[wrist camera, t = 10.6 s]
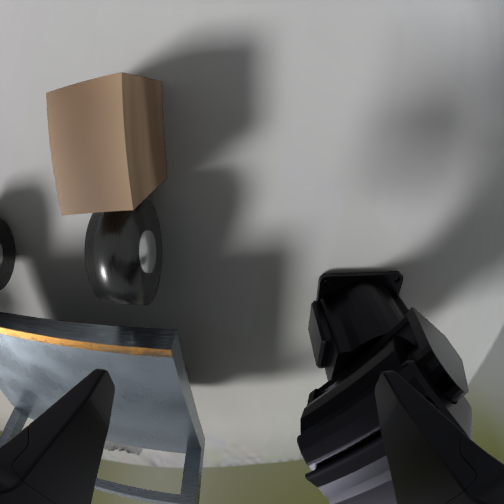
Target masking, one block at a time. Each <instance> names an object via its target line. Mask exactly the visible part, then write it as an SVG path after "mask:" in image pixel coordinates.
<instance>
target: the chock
mask: <svg viewBox="0 0 504 504" xmlns="http://www.w3.org/2000/svg"><path fill="white" fill-rule="evenodd" d="M46 98H47V117H48V129H49V139H50V148H51V156H52V164H53V170H54V177H55V183H56V189H57V194H58V199H59V204H60V209H61V214H62V215H71V214H83V213H96V212H111V211H127V210H134V209H135V208H136V207H137V206H138V205H139V204H140V203H141V202H142V201H143V200H144V199H145V198H146V197H147V196H148V195H150V194H151V193H152V192H153V191H154V190H155V189H156V188H157V187H158V186H159V185H160V184H161V183H162V182H164V181H165V180H166V179H167V167H166V154H165V140H164V123H163V101H162V82H161V81H157V80H153V79H149V78H145V77H141V76H136V75H132V74H127V73H122V72H121V73H116V74H112V75H107V76H103V77H99V78H95V79H91V80H87V81H83V82H80V83H76V84H73V85H70V86H66V87H63V88H60V89H57V90H54V91H51V92H48V93H46Z"/></svg>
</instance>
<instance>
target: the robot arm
mask: <svg viewBox="0 0 504 504" xmlns="http://www.w3.org/2000/svg"><path fill="white" fill-rule="evenodd" d="M396 277H398V278H397V279H396V280H394V279H395V278H396ZM325 280H329V281H328V282H327V283H324V281H325ZM402 281H403V276H402V274H401V273H400V272H398V271H389V272H362V273H328V274H323V275H321V276H320V278H319V282H318V290H317V298H316V301H314V302H313V303H312V304H311V312H310V319H309V327H308V330H309V334H310V339H311V343H312V348H313V352H314V357H315V361H316V366H318V367H319V368H325V370H326V375H327V379H328V382H327V383H326V384H324V385H323V386H322V387H320V388H319V389H315V390H314V391H312V392H311V393H310V394H309V399H308V404H307V407H305V408H304V411H303V414H302V417H301V435H299V436H298V437H297V443H298V446H299V449H300V452H301V455H302V456H303V458H304V460H305V462H306V464H307V465H308V466H309V468H310V469H311V470H312V471H311V472H309V473H306V475H305V477H306V479H307V480H308V481H310V482H311V483H312V484H314V485H315V486H317V487H318V488H319V489H320V490H321V491H322V493H323V494H324V495H325V496H326V497H327V499H328V500H329V502H330V503H331V504H504V464H503V463H501V462H500V461H498V460H497V459H496V458H494V457H493V456H491V455H490V454H488V453H487V452H486V451H484V450H483V449H482V448H480V447H479V446H478V445H477V444H476V443H474V442H473V441H472V409H471V406H470V405H469V403H468V401H467V400H466V398H465V397H464V395H465V394H466V393H468V385H467V380H466V376H465V371H464V367H463V362H462V359H461V358H460V356H459V355H458V353H457V352H456V350H455V349H454V348H453V346H452V345H451V343H450V342H449V341H448V339H447V338H446V337H445V335H444V334H442V333H441V332H440V331H439V330H438V329H437V328H436V327H435V326H434V325H433V324H431V323H430V322H429V321H428V320H427V319H426V318H425V317H424V316H422V315H421V314H420V313H419V312H418V311H417V310H416V309H415V308H413V307H412V308H411V309H410V310H408V309H407V307H406V306H405V304H404V302H403V301H402V299H401V298H400V296H399V292H400V288H401V285H402ZM114 394H115V385H114V383H113V381H112V379H111V377H110V375H109V372H108V371H107V370H104V369H95V370H93V371H92V372H91V373H90V374H89V375H87V376H86V377H85V378H84V379H83V380H81V381H80V382H79V383H78V384H77V385H75V386H74V387H73V388H72V389H71V390H69V391H68V392H67V393H66V394H65V395H64V396H62V397H61V398H60V399H59V400H58V401H56V402H55V403H54V404H53V405H52V406H50V407H49V408H48V409H47V410H46V411H45V412H43V413H42V414H41V415H40V416H39V417H38V418H36V419H35V420H34V421H33V422H32V423H30V424H29V426H27V427H26V428H25V429H23V430H22V431H21V432H20V433H19V434H17V435H16V436H15V437H14V438H12V439H11V440H10V441H8V442H7V443H5V444H4V445H3V446H1V447H0V504H91V501H92V496H93V491H94V487H95V482H96V478H97V473H98V469H99V465H100V461H101V457H102V453H103V449H104V445H105V441H106V437H107V433H108V429H109V424H110V418H111V412H112V406H113V400H114Z"/></svg>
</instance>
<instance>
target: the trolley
mask: <svg viewBox="0 0 504 504" xmlns="http://www.w3.org/2000/svg"><path fill="white" fill-rule="evenodd" d="M14 263H15V246H14V241H13V237H12V234H11V231H10V229H9V228H8V226H7V224H6V223H5V222H4V221H3V220H2V219H1V218H0V290H2V289H3V288H4V287H5V286H6V285H7V283H8V282H9V280H10V278H11V275H12V272H13V269H14ZM161 263H162V245H161V233H160V227H159V221H158V217H157V214H156V211H155V209H154V207H153V205H152V203H151V202H150V201H149V200H147V199H144V200H143V201H142V202H141V203H140V204H139V205H138V206H137V207H136V208H135V209H134V210H127V211H111V212H96V213H93V214H92V216H91V219H90V221H89V224H88V228H87V232H86V239H85V264H86V270H87V275H88V279H89V282H90V285H91V287H92V289H93V291H94V293H95V294H96V296H97V297H98V298H99V299H100V300H101V301H103V302H105V303H110V304H132V305H148V304H150V303H151V302H152V300H153V299H154V297H155V295H156V292H157V289H158V285H159V281H160V274H161ZM95 369H104V370H107V371H108V372H109V375H110V377H111V379H112V381H113V383H114V385H115V394H114V400H113V406H112V412H111V418H110V424H109V429H108V433H107V437H106V441H110V442H114V443H119V444H124V445H129V446H135V447H141V448H147V449H153V450H161V451H168V452H177V453H186V456H185V464H184V471H183V479H182V488H181V495H178V494H170V493H164V492H157V491H152V490H146V489H141V488H136V487H131V486H127V485H122V484H118V483H114V482H110V481H106V480H102V479H98V478H96V482H95V487H94V489H97V490H101V491H104V492H108V493H112V494H115V495H120V496H124V497H128V498H132V499H137V500H142V501H146V502H152V503H157V504H199V499H200V487H201V476H202V466H203V455H204V445H205V437H204V434H203V431H202V427H201V424H200V420H199V417H198V414H197V410H196V406H195V403H194V399H193V395H192V392H191V388H190V384H189V380H188V373H187V369H186V366H185V364H184V360H183V356H182V351H181V347H180V343H179V338H178V334H177V329H155V328H137V327H122V326H109V325H97V324H87V323H77V322H68V321H59V320H51V319H43V318H36V317H29V316H22V315H16V314H10V313H4V312H0V389H1V391H2V392H3V393H4V395H5V396H6V397H7V398H8V400H9V401H10V402H11V404H12V405H13V406H14V407H15V408H14V410H13V412H12V414H11V416H10V418H9V420H8V422H7V424H6V426H5V428H4V430H3V432H2V434H1V436H0V447H1V446H3V445H4V444H5V443H7V442H8V441H10V440H11V439H12V438H14V437H15V436H16V435H17V434H19V433H20V432H21V431H22V429H23V426H24V424H25V422H26V420H27V418H28V417H29V418H31V419H34V420H35V419H36V418H38V417H39V416H40V415H41V414H42V413H43V412H45V411H46V410H47V409H48V408H49V407H50V406H52V405H53V404H54V403H55V402H56V401H58V400H59V399H60V398H61V397H62V396H64V395H65V394H66V393H67V392H68V391H69V390H71V389H72V388H73V387H74V386H75V385H77V384H78V383H79V382H80V381H81V380H83V379H84V378H85V377H86V376H87V375H89V374H90V373H91V372H92V371H93V370H95Z"/></svg>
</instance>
